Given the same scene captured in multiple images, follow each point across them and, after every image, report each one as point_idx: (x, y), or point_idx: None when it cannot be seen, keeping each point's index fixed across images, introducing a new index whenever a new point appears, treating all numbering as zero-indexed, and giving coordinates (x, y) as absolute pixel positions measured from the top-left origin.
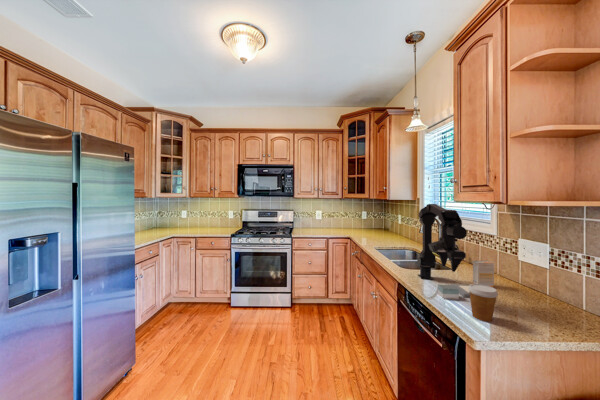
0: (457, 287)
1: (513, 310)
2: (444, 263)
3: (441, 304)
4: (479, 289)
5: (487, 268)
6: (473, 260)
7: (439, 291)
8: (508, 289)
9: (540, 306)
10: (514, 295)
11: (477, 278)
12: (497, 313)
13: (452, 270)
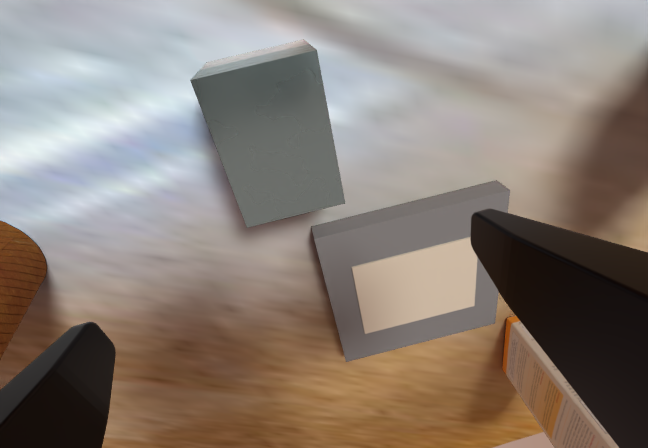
0: (441, 222)
1: (218, 382)
2: (506, 276)
3: (39, 17)
4: None
5: None
6: None
7: (271, 52)
8: (480, 402)
9: (315, 445)
10: (411, 407)
11: (542, 355)
12: (129, 329)
13: (53, 343)
